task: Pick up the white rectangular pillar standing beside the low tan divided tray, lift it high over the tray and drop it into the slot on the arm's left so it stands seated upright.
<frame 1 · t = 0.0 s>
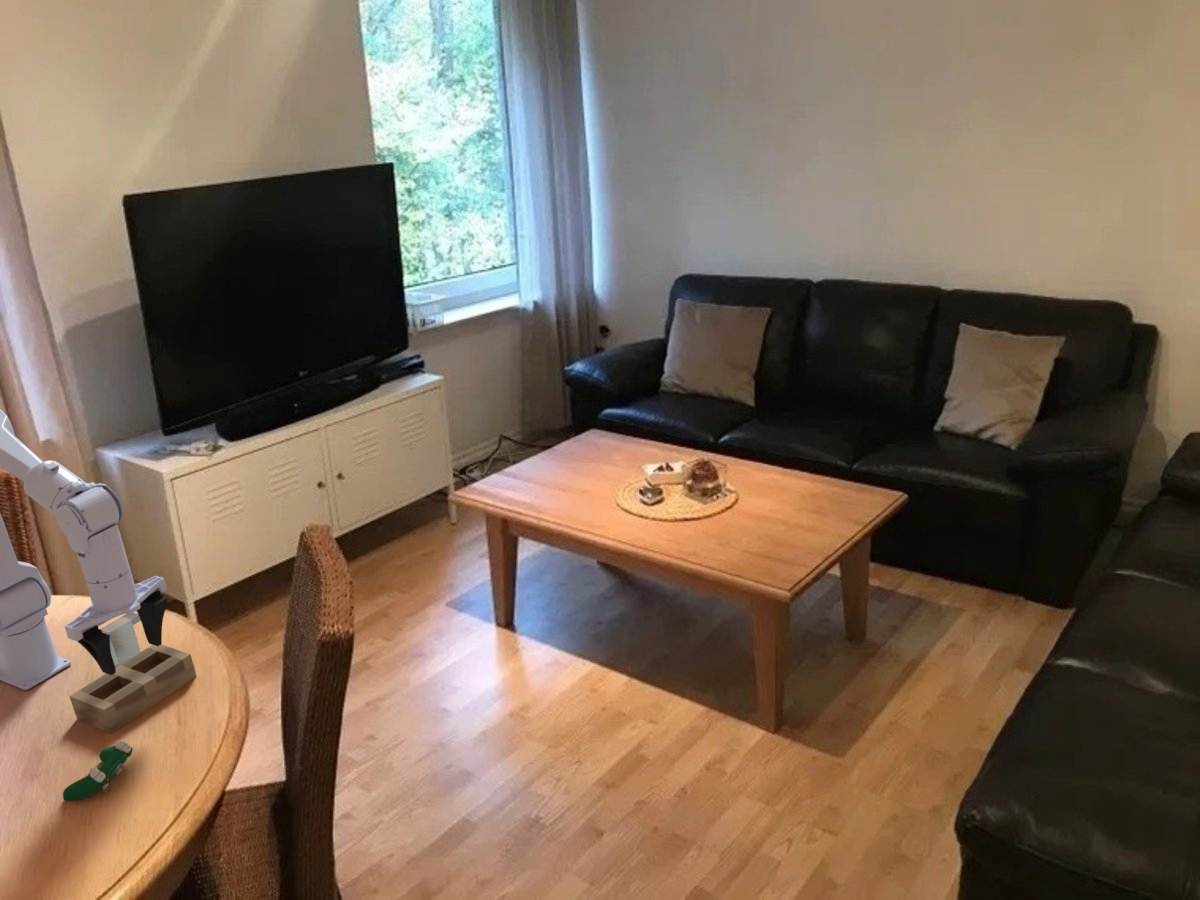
hand: (132, 657, 149), 10 cm above the table, tool pointing down, fingers open, 7 cm apart
green elongated piece: (104, 782, 140), on the table
tan divided tray: (138, 697, 157), on the table
white rectangular pillar: (126, 662, 167), on the table
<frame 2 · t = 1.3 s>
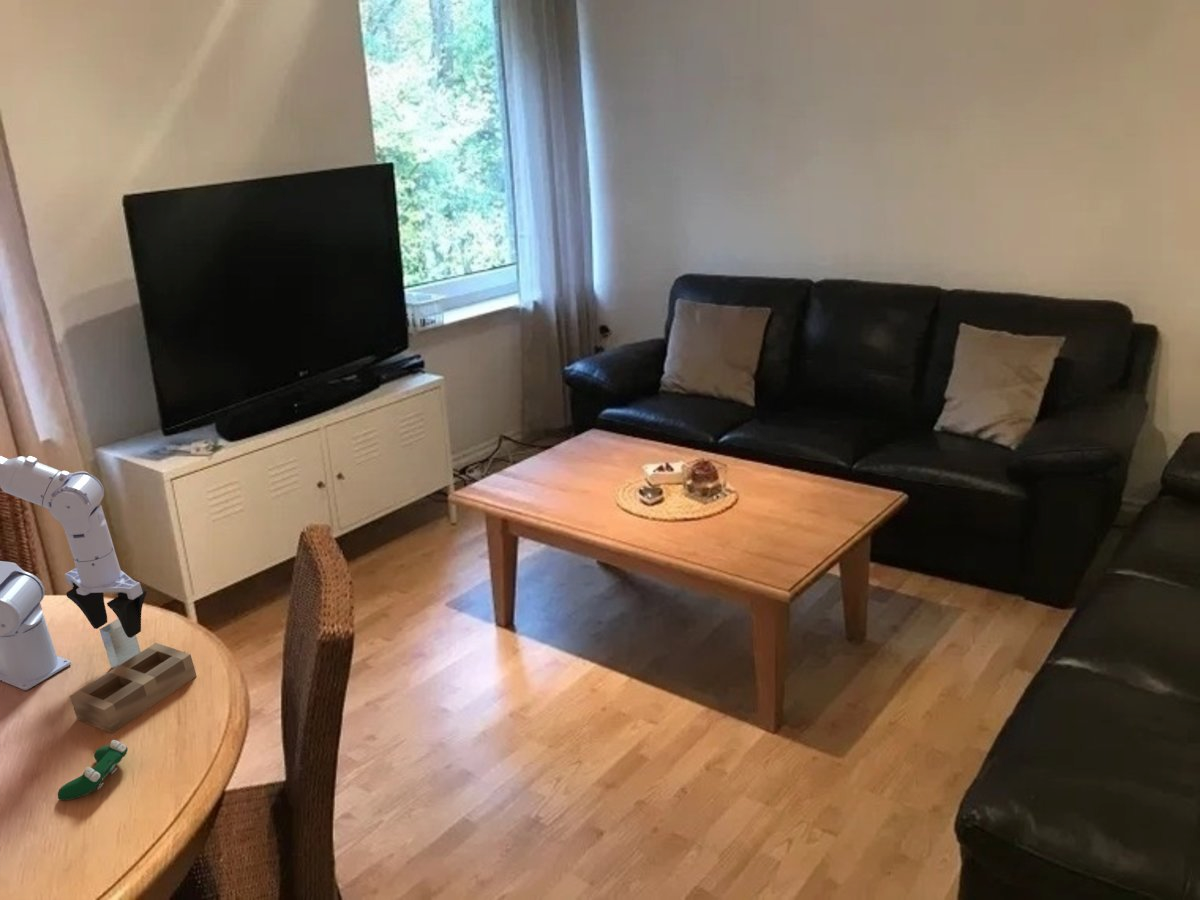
hand: (117, 629, 164), 6 cm above the table, tool pointing down, fingers open, 7 cm apart
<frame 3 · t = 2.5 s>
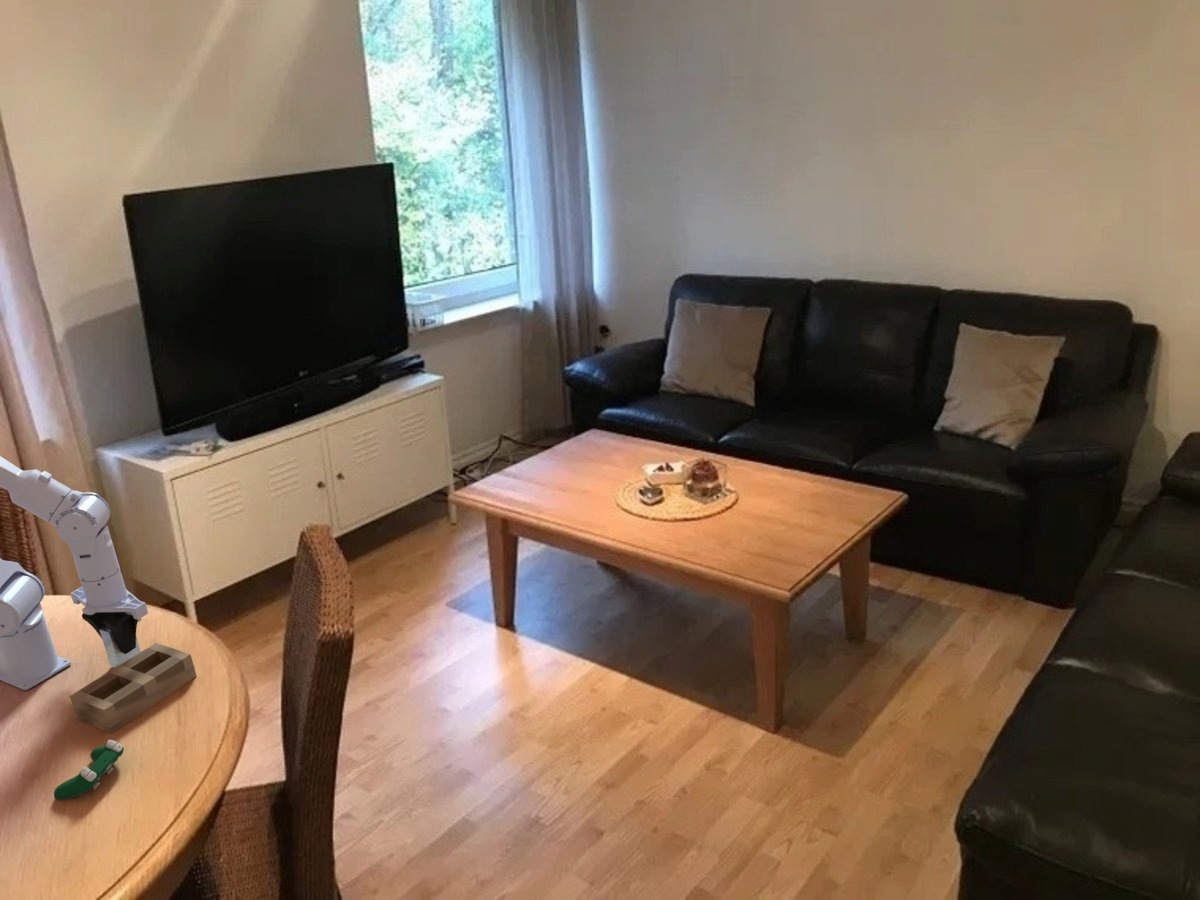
hand: (122, 648, 166), 3 cm above the table, tool pointing down, fingers closed on white rectangular pillar, 2 cm apart
white rectangular pillar: (126, 662, 167), on the table, touching gripper
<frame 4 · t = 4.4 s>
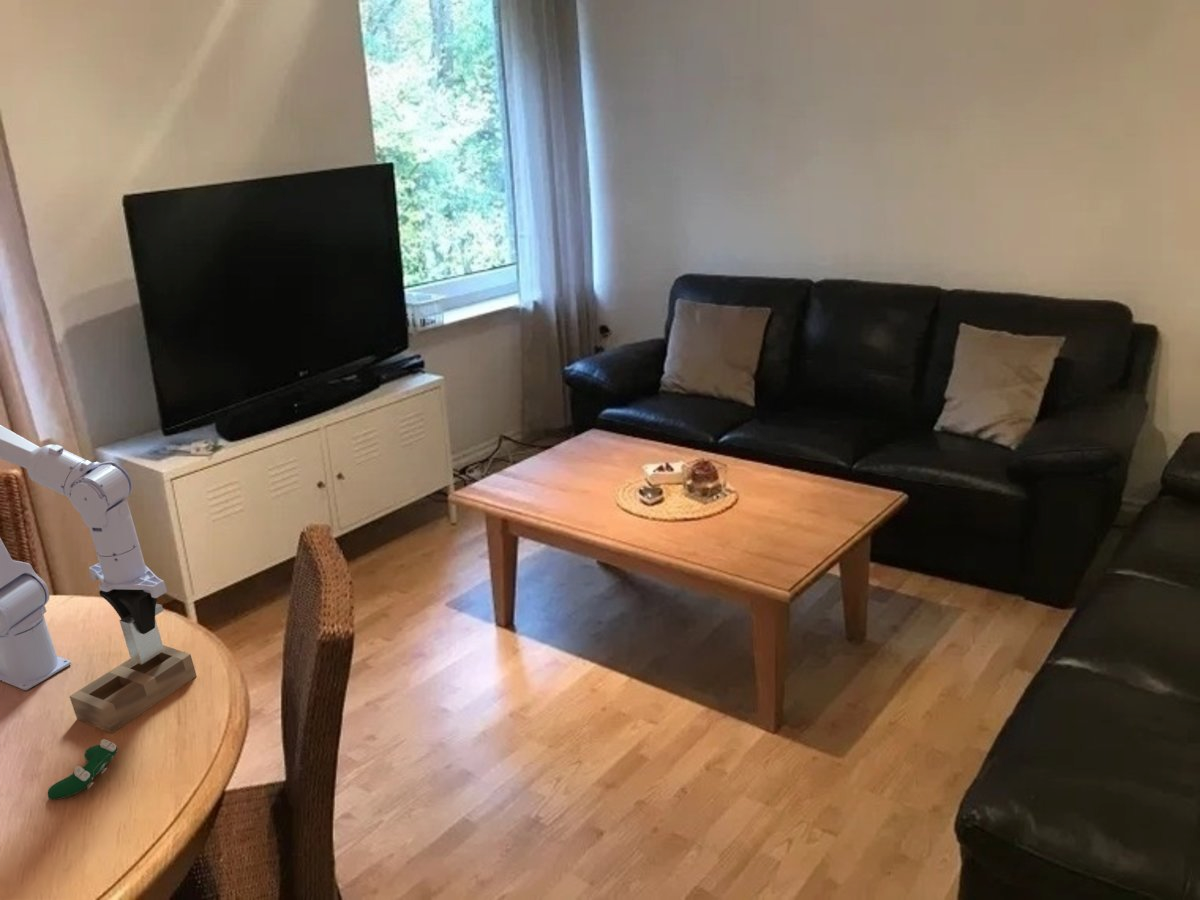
hand: (141, 628, 156), 10 cm above the table, tool pointing down, fingers closed on white rectangular pillar, 2 cm apart
white rectangular pillar: (147, 655, 158), point 5 cm above the table, touching gripper
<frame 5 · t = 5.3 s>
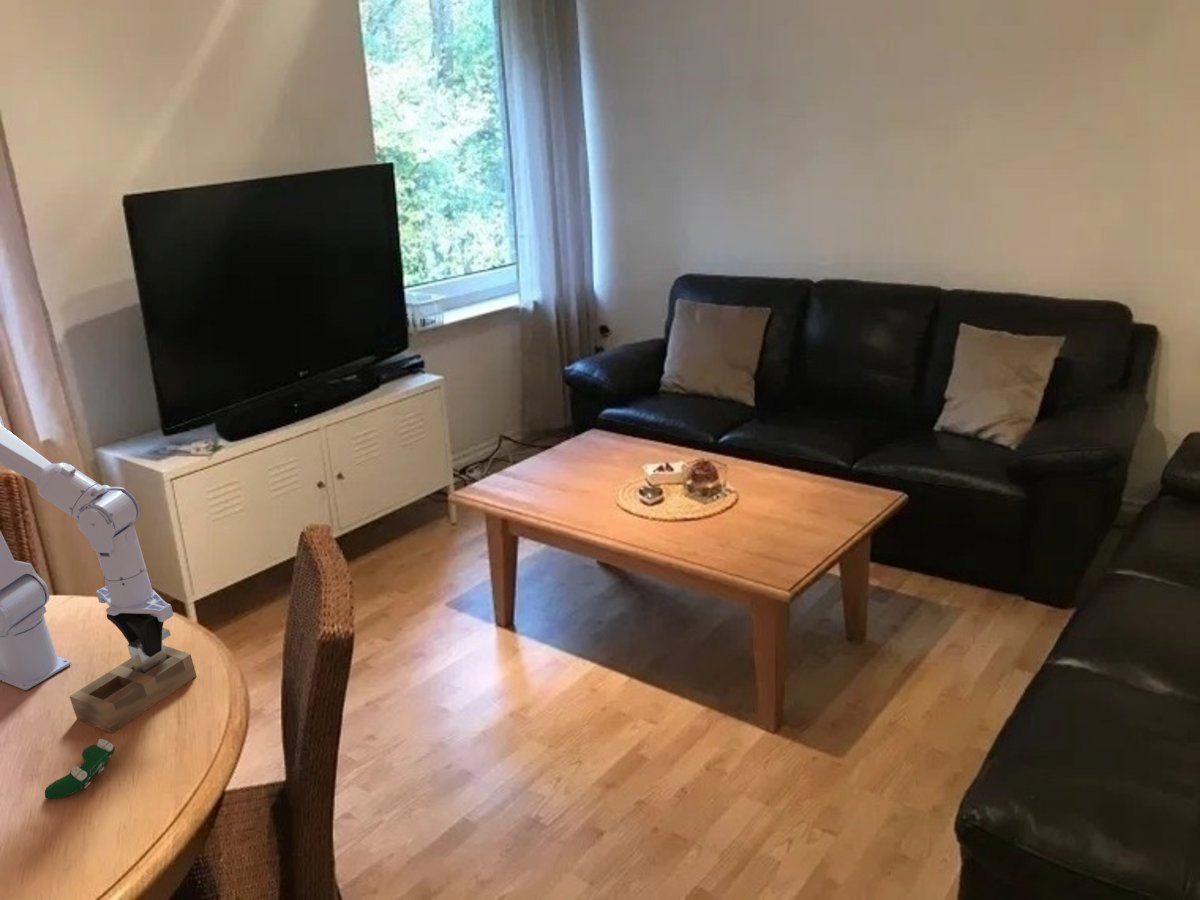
hand: (148, 650, 158), 6 cm above the table, tool pointing down, fingers closed on white rectangular pillar, 2 cm apart
white rectangular pillar: (155, 679, 160), point 1 cm above the table, touching gripper, tan divided tray
when the fingers open (6 cm above the table, at t = 5.7 s): white rectangular pillar stays where it is, resting on tan divided tray.
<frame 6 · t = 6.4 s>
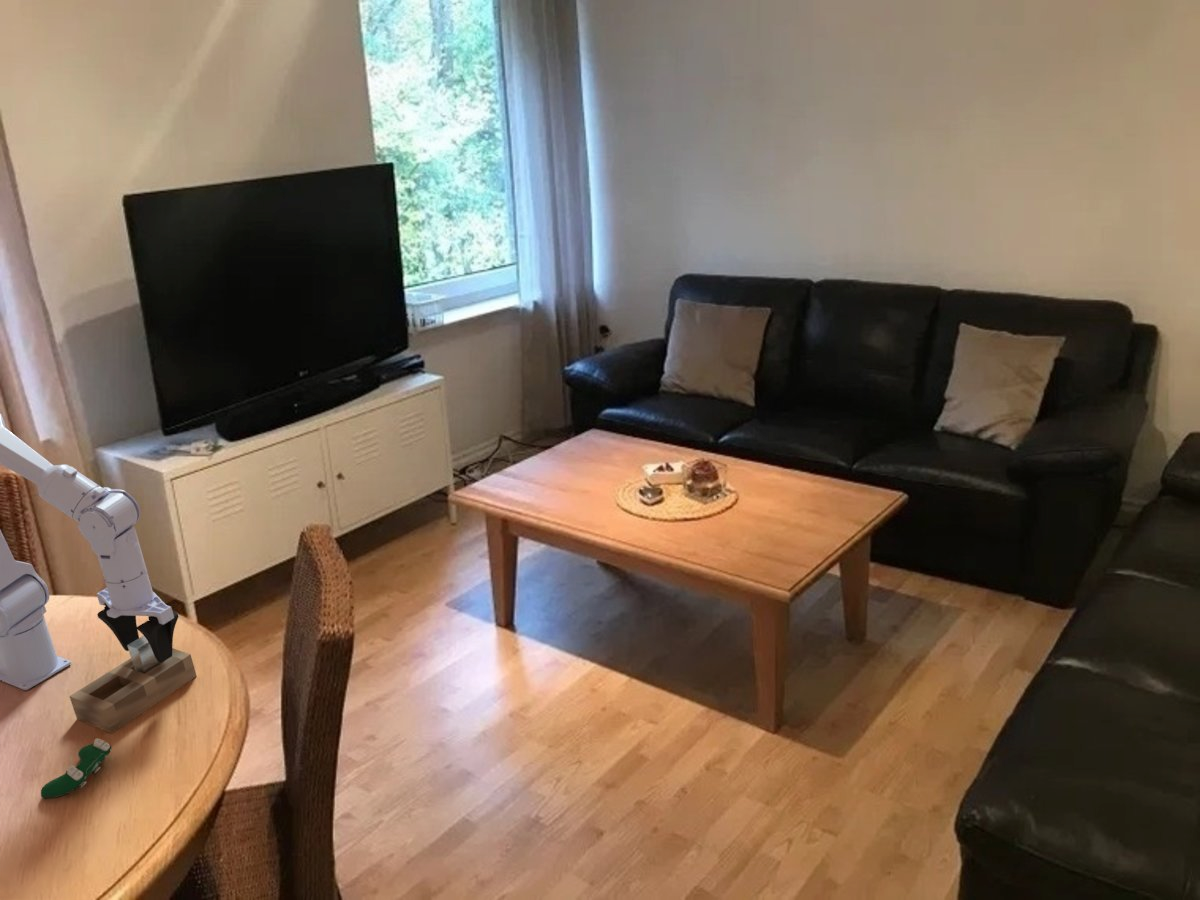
hand: (148, 653, 158), 6 cm above the table, tool pointing down, fingers open, 7 cm apart
white rectangular pillar: (155, 679, 160), point 1 cm above the table, touching tan divided tray
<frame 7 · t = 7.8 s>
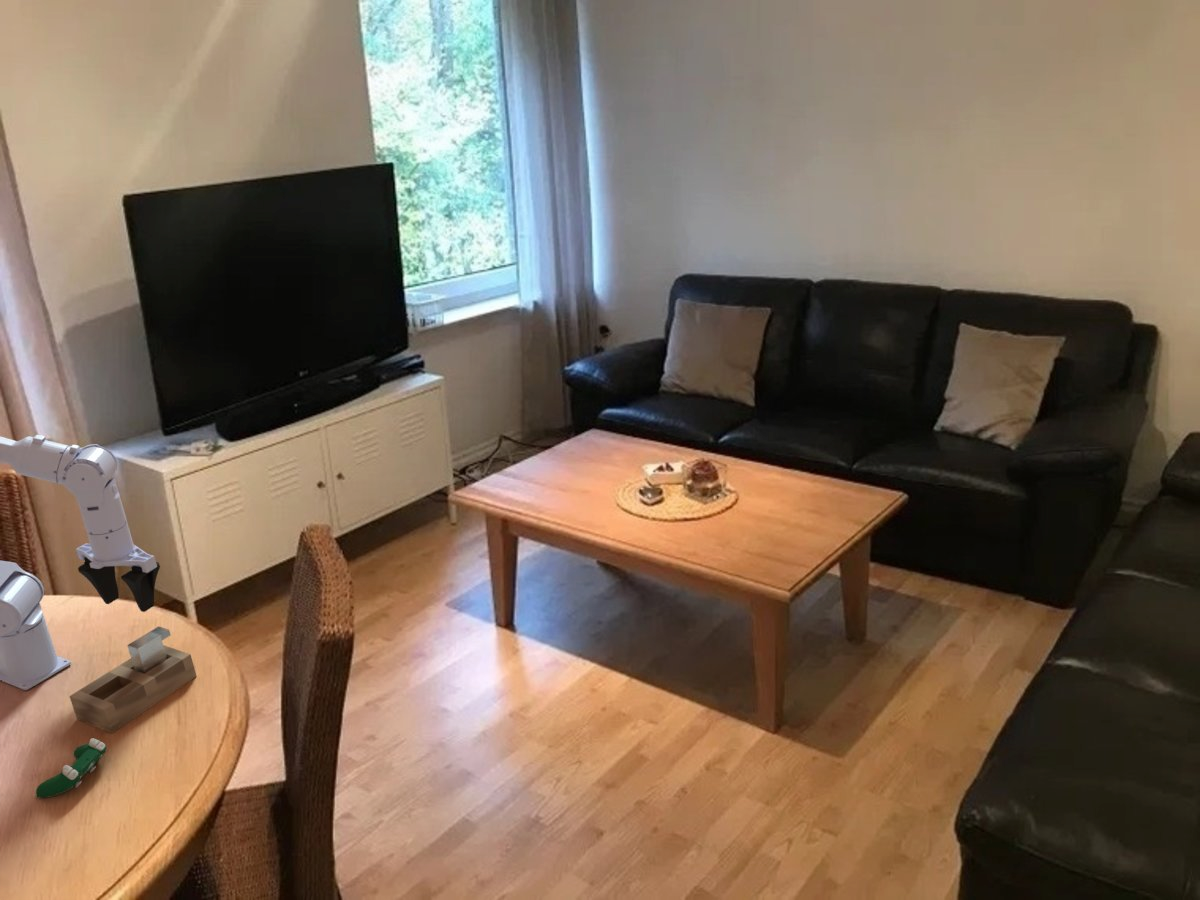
hand: (129, 604, 163), 10 cm above the table, tool pointing down, fingers open, 7 cm apart
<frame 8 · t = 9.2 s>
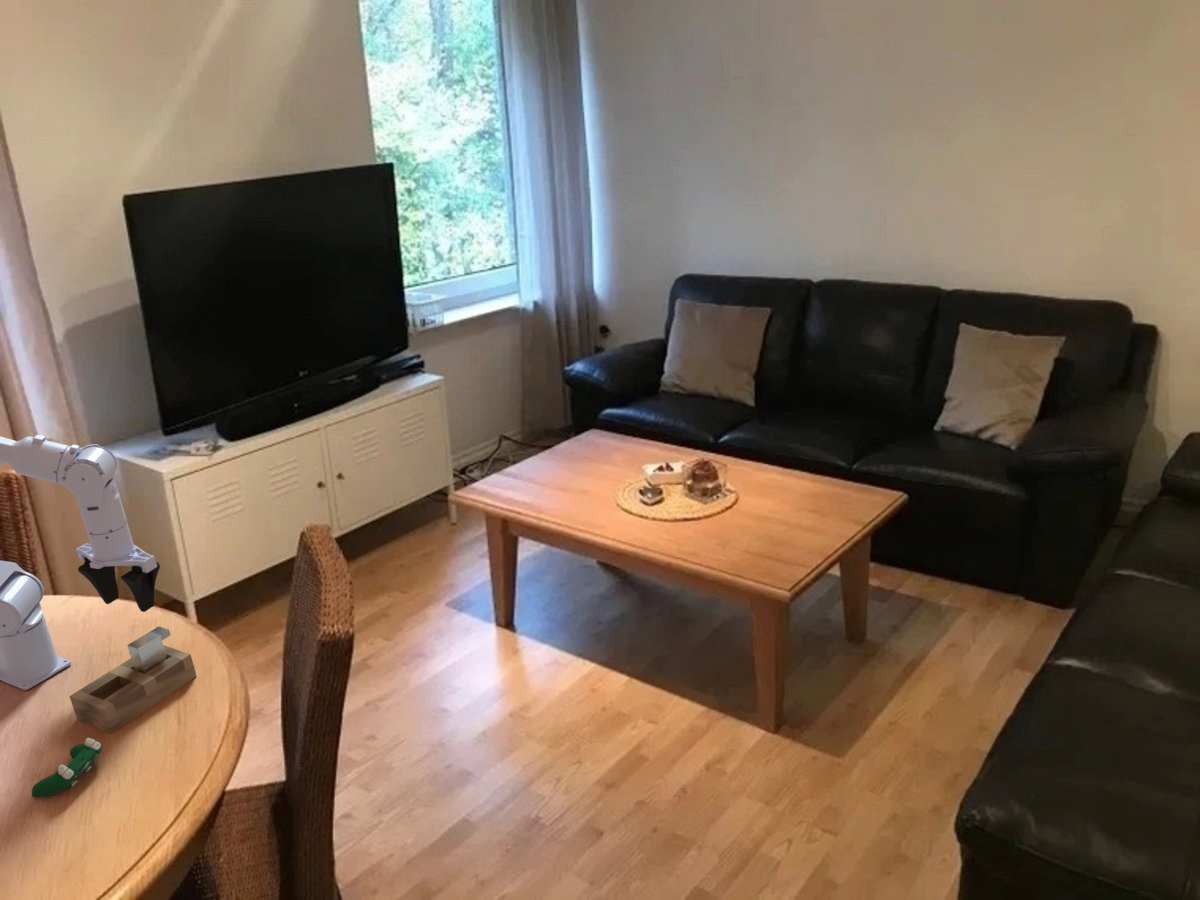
hand: (129, 604, 163), 10 cm above the table, tool pointing down, fingers open, 7 cm apart
at the end: white rectangular pillar 0.2 cm from the target spot on the tan divided tray, point 1.0 cm above the tan divided tray's base; white rectangular pillar tilted 0°; the gripper is holding nothing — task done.
